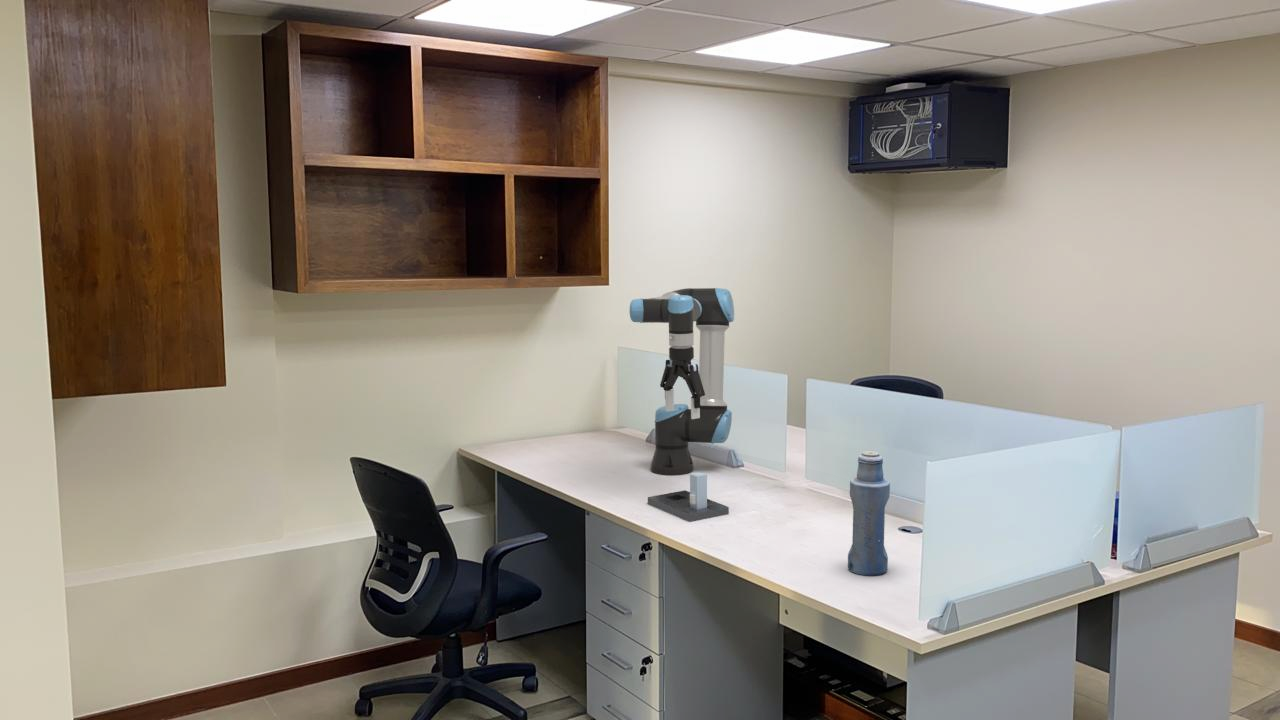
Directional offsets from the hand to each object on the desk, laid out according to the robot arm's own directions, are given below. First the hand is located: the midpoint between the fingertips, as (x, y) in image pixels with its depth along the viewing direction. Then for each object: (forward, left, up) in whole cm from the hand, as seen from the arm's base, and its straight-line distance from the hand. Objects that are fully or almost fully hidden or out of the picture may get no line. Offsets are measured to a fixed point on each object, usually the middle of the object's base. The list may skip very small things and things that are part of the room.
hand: (682, 414), depth 307 cm
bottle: (-4, +76, -29) cm, 81 cm away
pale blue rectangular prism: (+4, +14, -28) cm, 31 cm away
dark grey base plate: (+4, +8, -28) cm, 30 cm away
